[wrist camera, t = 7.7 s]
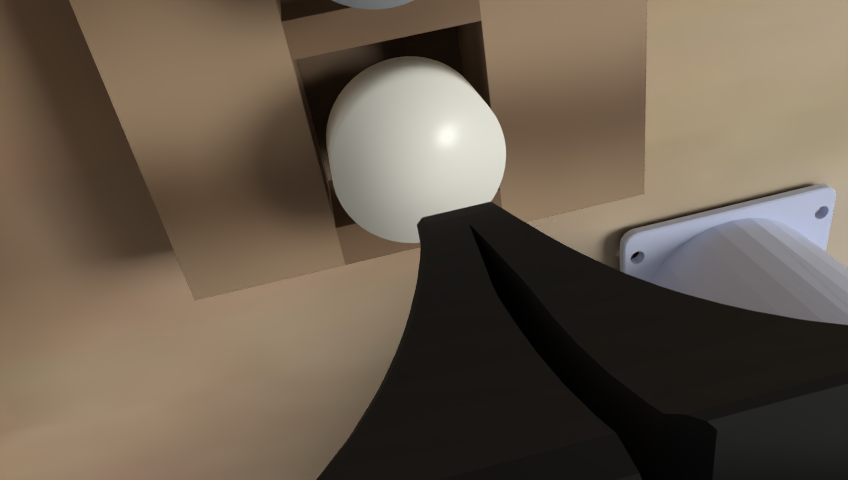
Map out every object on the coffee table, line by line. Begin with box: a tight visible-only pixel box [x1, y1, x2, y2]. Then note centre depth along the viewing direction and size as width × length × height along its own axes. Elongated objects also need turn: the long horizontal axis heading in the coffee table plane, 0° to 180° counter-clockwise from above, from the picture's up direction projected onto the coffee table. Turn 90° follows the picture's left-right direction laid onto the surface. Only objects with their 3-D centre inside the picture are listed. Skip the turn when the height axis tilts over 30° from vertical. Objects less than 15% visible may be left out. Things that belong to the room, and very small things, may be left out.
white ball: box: [326, 56, 506, 243], centre depth 17 cm, size 4×4×4 cm
